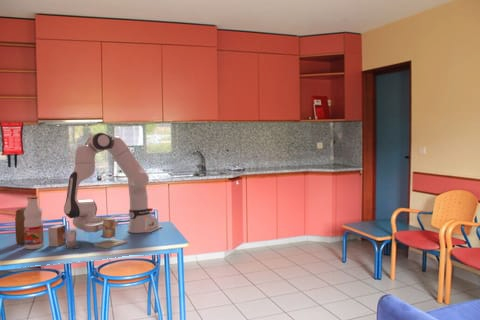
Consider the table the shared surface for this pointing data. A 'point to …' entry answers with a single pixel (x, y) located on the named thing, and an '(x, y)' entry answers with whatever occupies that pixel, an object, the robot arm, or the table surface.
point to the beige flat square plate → (110, 243)
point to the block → (20, 226)
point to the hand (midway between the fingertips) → (110, 227)
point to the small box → (57, 235)
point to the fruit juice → (33, 224)
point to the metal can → (71, 239)
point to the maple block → (109, 228)
